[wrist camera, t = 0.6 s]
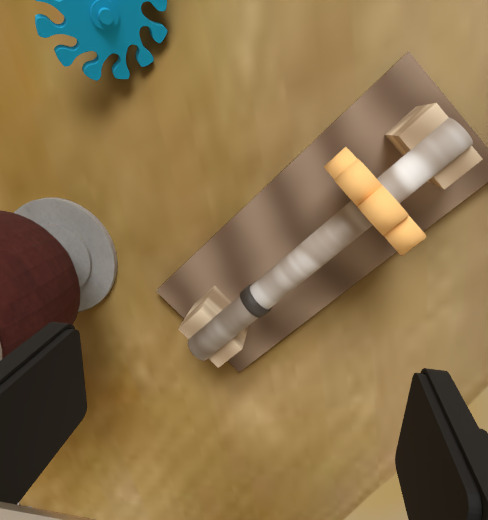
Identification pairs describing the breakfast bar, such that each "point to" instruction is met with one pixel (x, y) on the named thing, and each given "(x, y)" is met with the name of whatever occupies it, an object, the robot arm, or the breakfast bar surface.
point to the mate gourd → (50, 267)
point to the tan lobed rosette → (375, 201)
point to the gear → (102, 32)
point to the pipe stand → (325, 219)
